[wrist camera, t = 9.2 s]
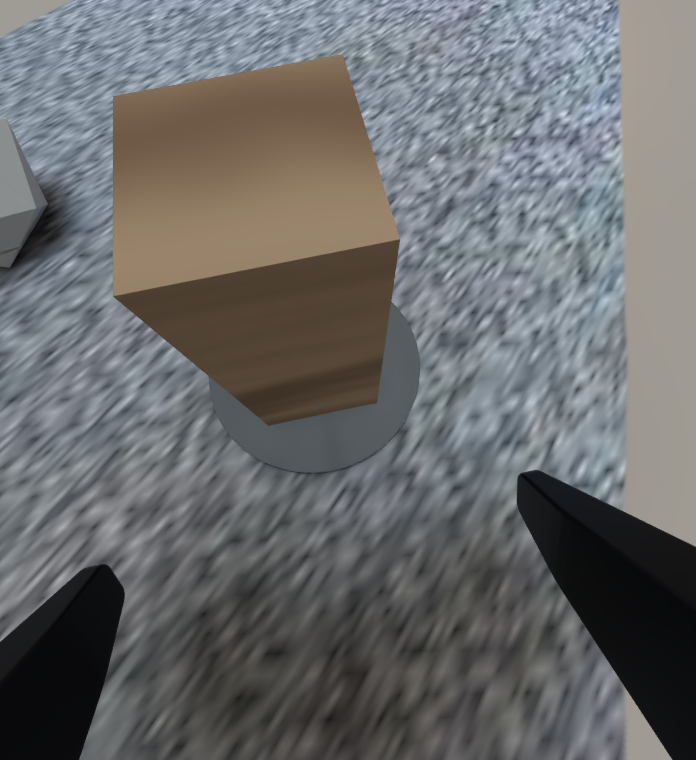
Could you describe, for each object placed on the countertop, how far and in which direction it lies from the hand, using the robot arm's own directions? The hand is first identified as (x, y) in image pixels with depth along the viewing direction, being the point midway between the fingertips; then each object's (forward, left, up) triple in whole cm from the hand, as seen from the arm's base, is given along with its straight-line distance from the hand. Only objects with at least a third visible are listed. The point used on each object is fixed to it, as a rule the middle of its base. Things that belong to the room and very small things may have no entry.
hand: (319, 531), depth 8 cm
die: (+19, +21, -10) cm, 30 cm away
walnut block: (+8, +1, -9) cm, 12 cm away
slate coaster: (+8, +1, -10) cm, 13 cm away
